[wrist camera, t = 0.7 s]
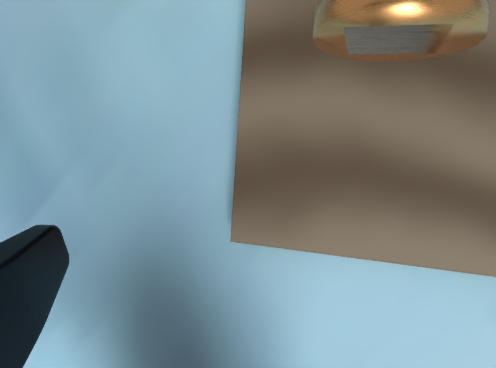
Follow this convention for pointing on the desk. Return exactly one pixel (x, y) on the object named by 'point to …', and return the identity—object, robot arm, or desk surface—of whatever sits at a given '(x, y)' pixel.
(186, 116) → the desk surface
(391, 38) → the gold rounded piece
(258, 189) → the walnut board
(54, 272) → the robot arm
